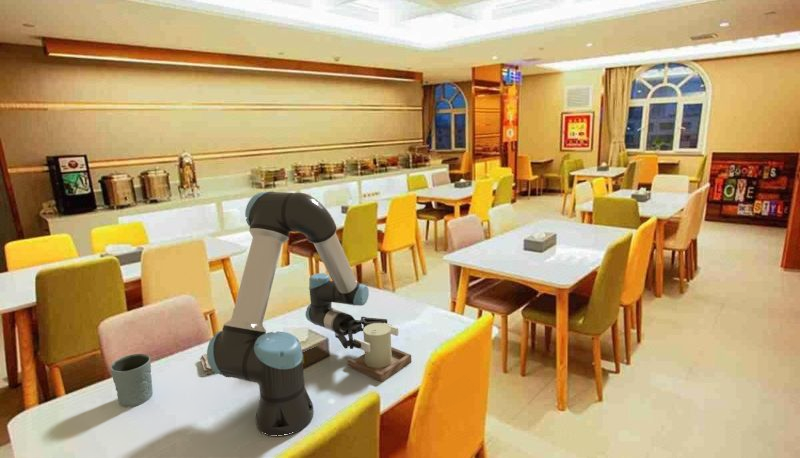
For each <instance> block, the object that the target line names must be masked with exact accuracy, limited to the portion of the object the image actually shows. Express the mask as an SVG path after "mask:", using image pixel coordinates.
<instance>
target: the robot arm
mask: <svg viewBox="0 0 800 458" xmlns="http://www.w3.org/2000/svg"><path fill="white" fill-rule="evenodd" d="M244 212H245V213H244V215H245V217H246V219H245V222H246V224H247V225H248V226H249V229H248V232H249V233H250V235H251V236H252V238H251V243H250V247H249V251H248V254H247V257H246V262H245V266H244V268H243V269H244V270H243V272H242V273H243V274H242V276H241V281H240V284H239V289H238V291H237V295H236V298H235V299H236V300H235V302H234V303H235V304H234V307H233V312H232V314H231V318H230V319H229V320H227V321H226V322H225V323H224V324H223V326H222V329H221V330H220V331H217V332H216V333H215V334H214V335H213V337H211V339H210V340H209V343H208V346H207V349H206V354H207V361H208V364H209V365H210V368H211V369H212V370H213V371H214V372H215V373H214V374H218V375H221V376H223V377H224V378H233V379H238V380H242V381H246V382H252V383H255V384H258V386H259V387H258V388H259V395H260V396H259V397H260V398H259V402H258V406H257V411H256V413H255V414H256V415H255V421H256V427H257V429H258V430H259V432H260V433H262V432H263V433H266V434H268V435H267V436H269V435H277V436H276V437H279V436H278V435H284V434H289V433H292V432H296V431H298V430H300V429H301V430H303V429H305V428H306V427H308V425H309V424H310V423H311V422H312V420H313V418H314V412H315V410H314V403H313V402H312V399H311V398H310V395H309V394H308V391H307V389H306V385H305V375H304V374H305V373H304V364H303V363H304V361H303V357H304V354H303V351H302V345H301V342H300V341H299V339H298V337H296V336H295V335H294V334H292V333H289V332H287V331H276V332H273V331H270V332H269V331H268V332H267V330H266V328H265V326H264V324H263V323H264V319H265V316H266V315H265V314H266V311H267V307H268V303H269V299H270V295H271V290H272V286H273V283H274V280H275V275H276V270H277V267H278V264H279V263H278V262H279V257H280V254H281V250H282V245H283V244H284V243H287V241H289V239H290V235H291V232H293V233H294V232H295V233H296V232H297V233H300V234H303V235H304V236H305V237H306V240H307V241H308V242H309V243H312V244H313V245H314V248H315V249H316V252H317V253H318V255H319V257H320V259H321V262H322V263H323V265H324V267H325V269H326V270H327V273H325V272H320V273H314V274H312V275H311V276H310V277H309V278H308V279H309V280H308V281H309V282H308V283H309V285H308V286H309V287H308V289H309V297H310V298H309V299H310V304H308V306H307V307H306V311H305V318H306V320H307V321H309V322H310V323H312V324H313V325H315V326H320V327H322V328H324V329H326V330H329V331H331V332H334V336H335V338H336V339H337V340H339V342H340V343H341V345H342V347H343V348H344V349H348V348H349V349H350V350H353V349H354V348H356V349H359V350H362V351H364V352H365V351H366V352H370V344H369V343H367V342H365V341H364V340H362V339H360V338H357V337H353V335H355V334H358V333H359V332H363V329H364V327H365V326H367V325H369V324H373V323H384V324H387V325H389V326H390V327H391V335H393V336H396V337H398V336H399V327H397V326H394V325H392V324H390V323H388V319H386V318H378V317H366V316H361V317H360V319H355V318H354V316H353V315H351V314H349V313H347V312H345V311H344V312H343V311H342V310H338V309H336V308H333V307H332V303H334V304H335V303H336V304H344V305H350V306H353V307H354V306H357V307H358V306H359V307H361V306H364V305H366V303H367V302H368V300H369V296H370V295H369V294H370V293H369V288H368V286H367V285H366V284H363V283H359V282H358V280H357V278H356V276H355V274H354V271H353V269H352V266H351V265H350V262H349V260H348V257H347V255H346V253H345V252H344V251H345V250H344V249H343V246H342V244H341V242H340V240H339V237H338V235H337V233H336V232H337V231H338V229H337V228H338V227H337V225H336V223H335V220H334V218H333V216H332V215H331V213H330V212H329V211H328V210H327V208H326V207H325V206H324V205H323V204H322V203H321V202H320V201H318V199H316V198H315V197H313V196H311V195H310V194H307V193H303V192H284V191H283V192H282V191H281V192H279V191H271V190H270V191H263V192H262V191H261V192H258V193H256V194H254V195H253V196H252V197H251V198H250V199H249V201H248V202H247V204H246V207H245V211H244ZM346 336H348V339H347V337H346ZM302 428H303V429H302ZM301 430H300V431H301ZM298 432H299V431H298ZM263 433H262V434H263ZM296 433H297V432H296ZM266 434H265V435H266Z"/></svg>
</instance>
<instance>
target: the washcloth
mask: <svg viewBox="0 0 800 458" xmlns="http://www.w3.org/2000/svg"><path fill="white" fill-rule="evenodd" d="M199 360H200V362H201V364H202V365H201V366H202V369H203V372H204V374H205V375H211V374H216V373H215V372H214V371H213V370H212V369H211V368H210V365H209V364H208V361H207V353H204V354H202V355H201V356H200V357H199Z"/></svg>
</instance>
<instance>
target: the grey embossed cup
mask: <svg viewBox="0 0 800 458" xmlns="http://www.w3.org/2000/svg"><path fill="white" fill-rule="evenodd" d="M151 359H152V358H151V356H150V355H149V354H146V353H134V354H128V355H126V356H123V357H120V358H118V359H117V360H115V361H114V362H112V363H111V365H110V366H109V369H110V372H111V376H112V377H111V378H112V380H113V383H114V386H115V391H116V396H117V399H118V403H119V405H120V406H121V407H122V408H132V407H136V406H140V405H142V404H144V403H146V402H148V401H149V400H150V399H151V398H152V396H153V391H154V390H153V383H152V382H153V381H152V374H151V373H152V368H151V367H152V363H151Z"/></svg>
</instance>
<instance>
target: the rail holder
mask: <svg viewBox="0 0 800 458" xmlns="http://www.w3.org/2000/svg"><path fill="white" fill-rule="evenodd" d="M391 352H392V362H391V364H390V365H388V366H386V367H383V368H372V367H369V366H367V365H366V364H365V353H363V354H362V355H360V356H358V357H357V358H354V359H353V358H351V357H349V358H348V359H347V361H346V362H347V368H351V369H353V370H355V371H356V372H359V373H361V374H363V375H365V376H367V377H369V378H372V379H374V380H376V381H378V382H380V383H382V382H384V381H385V380H387V379H389V378H390V377H391V376H392V375H394V374H396V373H397V372H398V371H400V370H401V369H403V368H405V367H406V366H407V365H409V364H410V363H412V354H411V353H408V352H406V351H402V350H400V349H397V348H395V347H392V346H391Z"/></svg>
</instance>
